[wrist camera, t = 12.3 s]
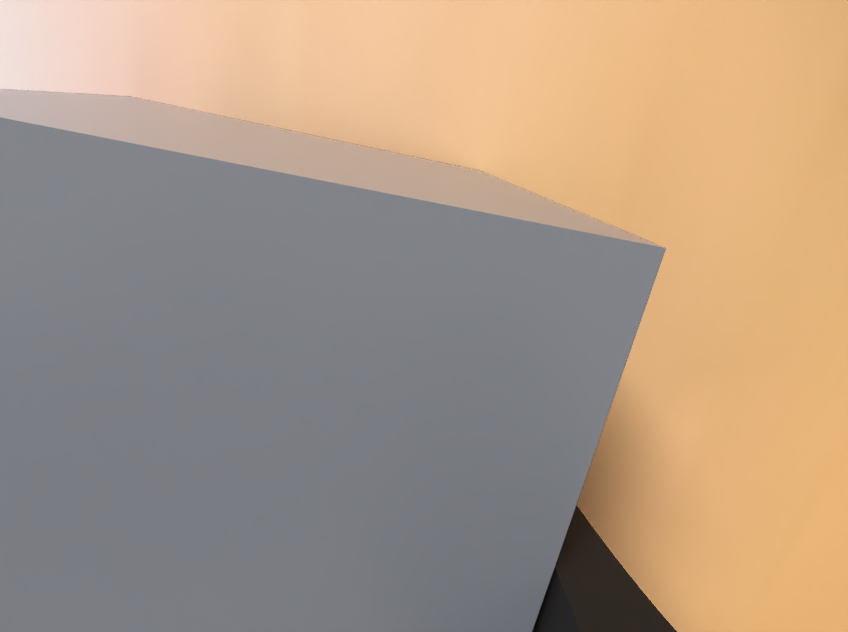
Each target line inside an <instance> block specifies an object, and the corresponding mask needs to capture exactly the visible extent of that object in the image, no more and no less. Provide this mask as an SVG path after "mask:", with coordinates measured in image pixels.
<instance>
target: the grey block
mask: <svg viewBox="0 0 848 632" xmlns="http://www.w3.org/2000/svg"><path fill="white" fill-rule="evenodd" d="M665 250H666V248H665V247H662V246H660V245H658V244H655V243H653V242H650V241H648V240H646V239H643V238H641V237H638V236H636V235H634V234H631V233H629V232H626V231H624V230H622V229H619V228H617V227H614V226H612V225H610V224H607V223H605V222H602V221H600V220H598V219H595V218H593V217H591V216H588V215H586V214H583V213H581V212H579V211H576V210H574V209H571V208H569V207H567V206H564V205H562V204H559V203H557V202H555V201H552V200H550V199H547V198H545V197H543V196H540V195H538V194H535V193H533V192H531V191H528V190H526V189H524V188H521V187H519V186H516V185H514V184H512V183H509V182H507V181H504V180H502V179H500V178H497V177H495V176H492V175H490V174H488V173H485V172H483V171H479V170H475V169H470V168H465V167H461V166H456V165H451V164H446V163H442V162H437V161H432V160H428V159H423V158H418V157H414V156H409V155H404V154H399V153H395V152H390V151H385V150H381V149H376V148H371V147H366V146H362V145H357V144H352V143H348V142H343V141H338V140H334V139H329V138H324V137H319V136H315V135H310V134H305V133H301V132H296V131H291V130H286V129H282V128H277V127H272V126H268V125H263V124H258V123H254V122H249V121H244V120H239V119H235V118H230V117H225V116H221V115H216V114H211V113H206V112H202V111H197V110H192V109H188V108H183V107H178V106H174V105H169V104H164V103H159V102H155V101H150V100H145V99H141V98H136V97H131V96H117V95H99V94H82V93H64V92H47V91H29V90H12V89H0V632H532V630H533V628H534V625H535V622H536V619H537V616H538V613H539V610H540V608H541V605H542V602H543V599H544V596H545V593H546V590H547V588H548V585H549V582H550V579H551V576H552V573H553V570H554V568H555V565H556V562H557V559H558V556H559V553H560V550H561V547H562V545H563V542H564V539H565V536H566V533H567V530H568V527H569V525H570V522H571V519H572V516H573V513H574V510H575V507H576V505H577V502H578V499H579V496H580V493H581V490H582V487H583V484H584V482H585V479H586V476H587V473H588V470H589V467H590V464H591V462H592V459H593V456H594V453H595V450H596V447H597V444H598V442H599V439H600V436H601V433H602V430H603V427H604V424H605V421H606V419H607V416H608V413H609V410H610V407H611V404H612V401H613V399H614V396H615V393H616V390H617V387H618V384H619V381H620V379H621V376H622V373H623V370H624V367H625V364H626V361H627V359H628V356H629V353H630V350H631V347H632V344H633V341H634V338H635V336H636V333H637V330H638V327H639V324H640V321H641V318H642V316H643V313H644V310H645V307H646V304H647V301H648V298H649V296H650V293H651V290H652V287H653V284H654V281H655V278H656V275H657V273H658V270H659V267H660V264H661V261H662V258H663V255H664V253H665Z"/></svg>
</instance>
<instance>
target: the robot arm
mask: <svg viewBox="0 0 848 632" xmlns="http://www.w3.org/2000/svg"><path fill="white" fill-rule="evenodd" d="M532 632H677V631H676V630H675V629H674V628H673V627H672V626H671V625H670V623H669V622H668V621H667V620H666V619H665V618H664V617H663V615H662V614H661V613H660V612H659V611H658V610H657V608H656V607H655V606H654V605H653V604H652V602H651V601H650V600H649V599H648V598H647V596H646V595H645V594H644V593H643V592H642V590H641V589H640V588H639V587H638V585H637V584H636V583H635V582H634V580H633V579H632V578H631V577H630V576H629V574H628V573H627V572H626V570H625V569H624V568H623V567H622V565H621V564H620V563H619V562H618V560H617V559H616V558H615V556H614V555H613V554H612V553H611V551H610V550H609V549H608V547H607V546H606V545H605V543H604V542H603V541H602V539H601V538H600V537H599V535H598V534H597V533H596V531H595V530H594V529H593V527H592V526H591V525H590V523H589V522H588V521H587V519H586V518H585V517H584V515H583V514H582V512H581V511H580V510H579V508H578V507H577V506H576V507H575V510H574V513H573V516H572V519H571V522H570V525H569V527H568V530H567V533H566V536H565V539H564V542H563V545H562V547H561V550H560V553H559V556H558V559H557V562H556V565H555V568H554V570H553V573H552V576H551V579H550V582H549V585H548V588H547V590H546V593H545V596H544V599H543V602H542V605H541V608H540V610H539V613H538V616H537V619H536V622H535V625H534V628H533V630H532Z"/></svg>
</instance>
